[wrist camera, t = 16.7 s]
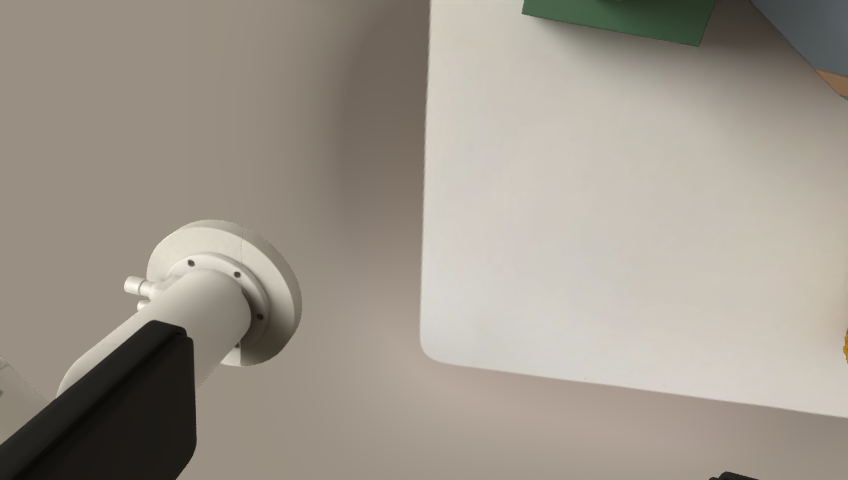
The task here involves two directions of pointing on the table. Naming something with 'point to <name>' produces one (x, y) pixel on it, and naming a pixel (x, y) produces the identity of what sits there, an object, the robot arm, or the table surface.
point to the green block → (631, 16)
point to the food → (846, 346)
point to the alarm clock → (815, 34)
